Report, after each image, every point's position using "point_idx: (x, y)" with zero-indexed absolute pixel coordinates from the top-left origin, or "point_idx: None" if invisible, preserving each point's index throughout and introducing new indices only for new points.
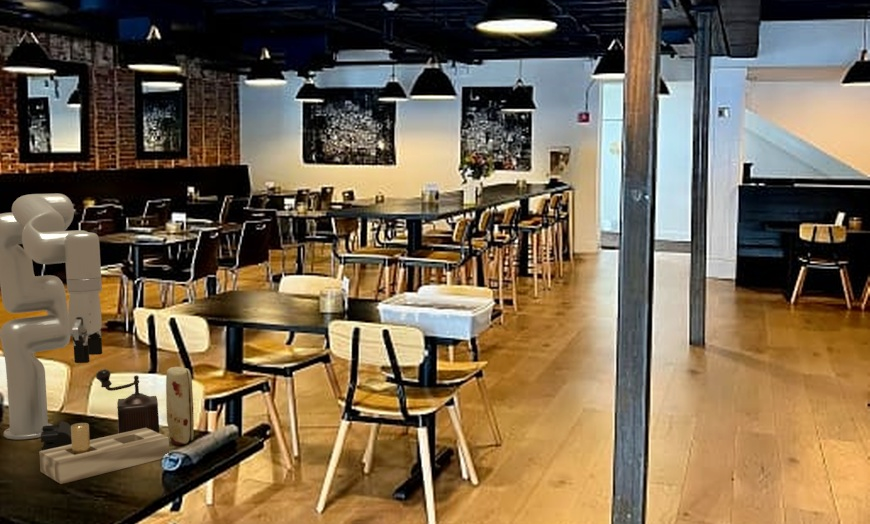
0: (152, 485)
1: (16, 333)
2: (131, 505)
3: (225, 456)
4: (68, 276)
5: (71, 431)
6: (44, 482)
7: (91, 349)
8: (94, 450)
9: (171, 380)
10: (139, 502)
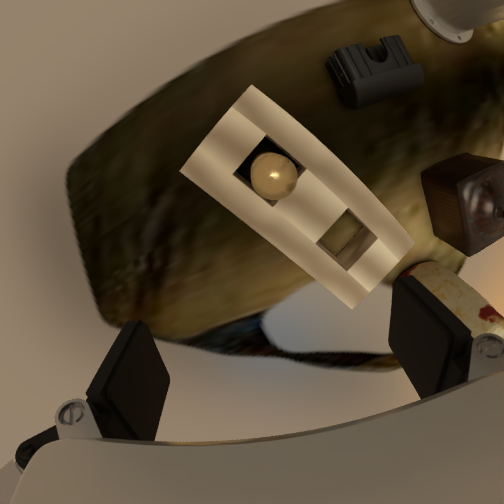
0: (205, 316)
1: None
2: (131, 316)
3: (337, 361)
4: None
5: (257, 160)
6: (194, 131)
7: (406, 315)
8: (266, 203)
9: None
10: None
